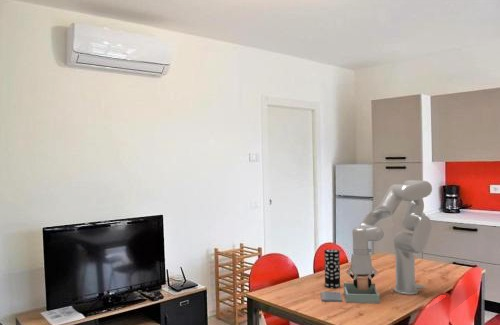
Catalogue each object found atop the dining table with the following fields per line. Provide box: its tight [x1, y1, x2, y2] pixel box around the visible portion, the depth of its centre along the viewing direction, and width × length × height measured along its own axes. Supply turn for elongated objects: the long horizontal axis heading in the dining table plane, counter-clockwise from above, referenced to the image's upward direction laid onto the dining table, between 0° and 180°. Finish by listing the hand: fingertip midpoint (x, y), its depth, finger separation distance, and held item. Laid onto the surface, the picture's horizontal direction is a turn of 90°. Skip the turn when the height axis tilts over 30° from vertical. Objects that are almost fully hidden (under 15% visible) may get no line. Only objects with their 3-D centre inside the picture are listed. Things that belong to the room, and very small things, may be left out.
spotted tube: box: [324, 248, 341, 290], centre depth 230 cm, size 8×8×20 cm
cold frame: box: [343, 282, 381, 304], centre depth 209 cm, size 16×13×6 cm
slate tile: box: [320, 291, 343, 303], centre depth 211 cm, size 10×12×1 cm
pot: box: [356, 274, 369, 291], centre depth 210 cm, size 7×7×7 cm
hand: (362, 286), depth 210 cm, fingers closed on pot, 6 cm apart
